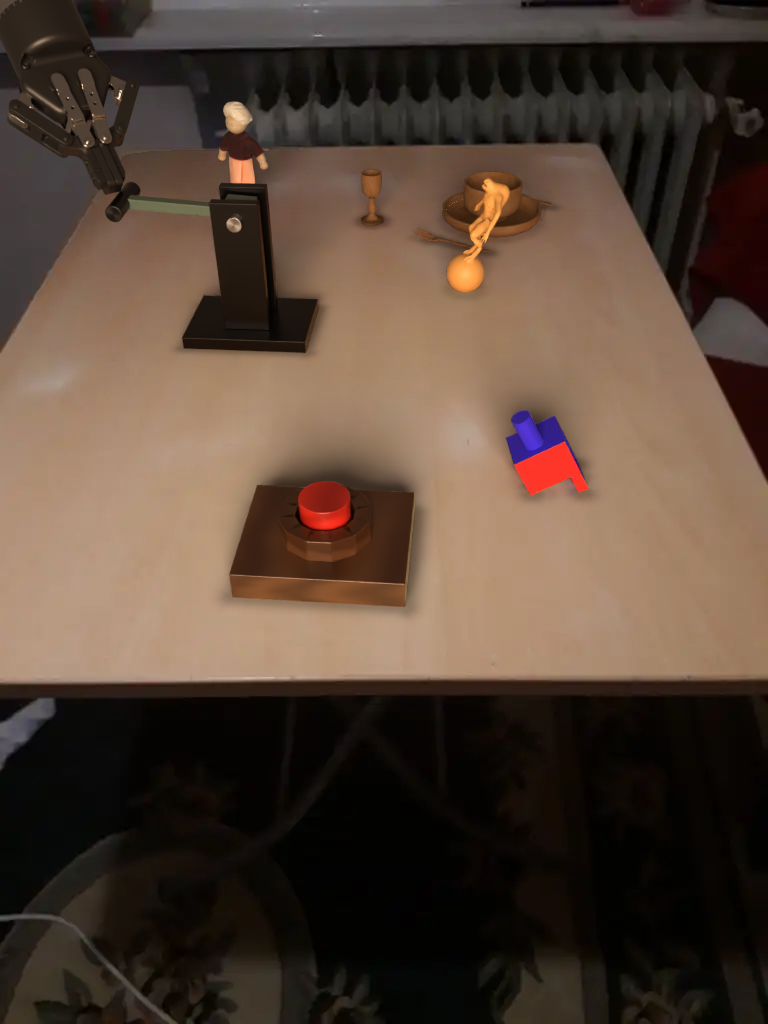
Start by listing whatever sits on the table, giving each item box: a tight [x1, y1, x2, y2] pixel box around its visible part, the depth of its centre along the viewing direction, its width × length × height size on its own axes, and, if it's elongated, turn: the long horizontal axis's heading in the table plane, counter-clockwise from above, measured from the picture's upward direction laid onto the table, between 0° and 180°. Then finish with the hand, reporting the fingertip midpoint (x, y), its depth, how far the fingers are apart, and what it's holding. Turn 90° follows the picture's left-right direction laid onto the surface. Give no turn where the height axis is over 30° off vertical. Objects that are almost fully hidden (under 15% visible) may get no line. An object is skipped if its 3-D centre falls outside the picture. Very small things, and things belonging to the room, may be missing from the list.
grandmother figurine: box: [217, 101, 269, 184], centre depth 115 cm, size 8×4×13 cm, turn 67°
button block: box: [228, 483, 416, 608], centre depth 68 cm, size 12×10×4 cm
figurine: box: [446, 178, 510, 293], centre depth 97 cm, size 8×6×12 cm
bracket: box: [181, 182, 320, 354], centre depth 91 cm, size 12×9×14 cm
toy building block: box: [505, 409, 589, 496], centre depth 74 cm, size 4×4×8 cm
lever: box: [104, 181, 257, 223], centre depth 88 cm, size 13×6×2 cm, turn 85°
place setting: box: [360, 168, 553, 253], centre depth 115 cm, size 18×20×6 cm
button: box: [298, 480, 351, 531], centre depth 66 cm, size 4×4×2 cm
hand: (114, 189), depth 87 cm, fingers closed
